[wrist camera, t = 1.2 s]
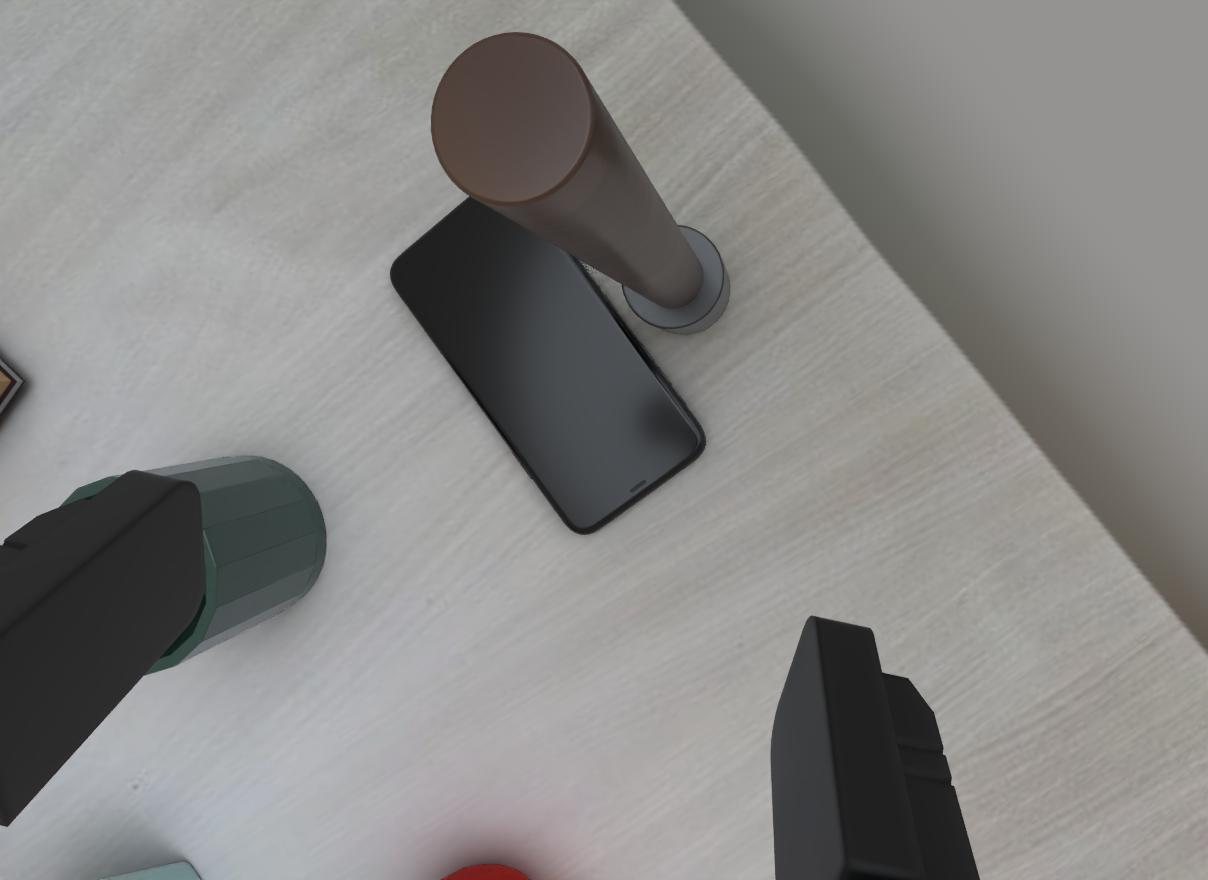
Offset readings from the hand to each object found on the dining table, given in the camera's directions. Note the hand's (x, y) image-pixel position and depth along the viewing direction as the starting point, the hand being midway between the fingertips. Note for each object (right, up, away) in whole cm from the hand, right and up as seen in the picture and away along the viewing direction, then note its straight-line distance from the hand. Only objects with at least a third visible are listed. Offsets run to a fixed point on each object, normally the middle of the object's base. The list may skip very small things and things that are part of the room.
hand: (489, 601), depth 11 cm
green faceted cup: (-16, -3, +33) cm, 37 cm away
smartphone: (-1, +6, +30) cm, 30 cm away
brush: (+5, +9, +28) cm, 30 cm away
